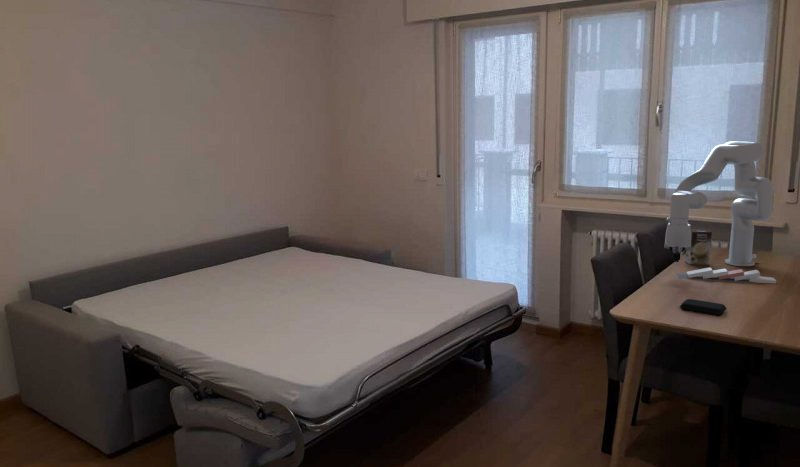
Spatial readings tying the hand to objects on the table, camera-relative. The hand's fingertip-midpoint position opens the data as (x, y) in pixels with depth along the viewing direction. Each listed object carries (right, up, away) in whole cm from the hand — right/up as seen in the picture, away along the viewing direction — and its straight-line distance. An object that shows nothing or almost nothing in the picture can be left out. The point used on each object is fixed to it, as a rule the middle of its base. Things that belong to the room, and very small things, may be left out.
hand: (676, 261), depth 276 cm
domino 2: (+10, -6, -3) cm, 12 cm away
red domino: (+16, -7, -5) cm, 18 cm away
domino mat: (+15, -8, -4) cm, 17 cm away
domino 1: (+5, -6, -1) cm, 8 cm away
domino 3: (+22, -7, -6) cm, 24 cm away
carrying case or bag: (-10, -17, -44) cm, 48 cm away
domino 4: (+28, -7, -8) cm, 30 cm away
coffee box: (+21, -2, +24) cm, 32 cm away
